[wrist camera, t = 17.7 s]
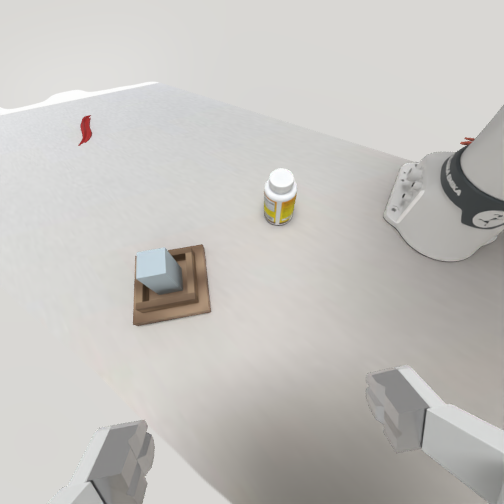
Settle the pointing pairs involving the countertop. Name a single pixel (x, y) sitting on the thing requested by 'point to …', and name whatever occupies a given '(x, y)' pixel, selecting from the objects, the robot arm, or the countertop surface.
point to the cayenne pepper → (85, 129)
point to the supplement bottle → (279, 196)
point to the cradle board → (176, 303)
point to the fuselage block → (159, 271)
